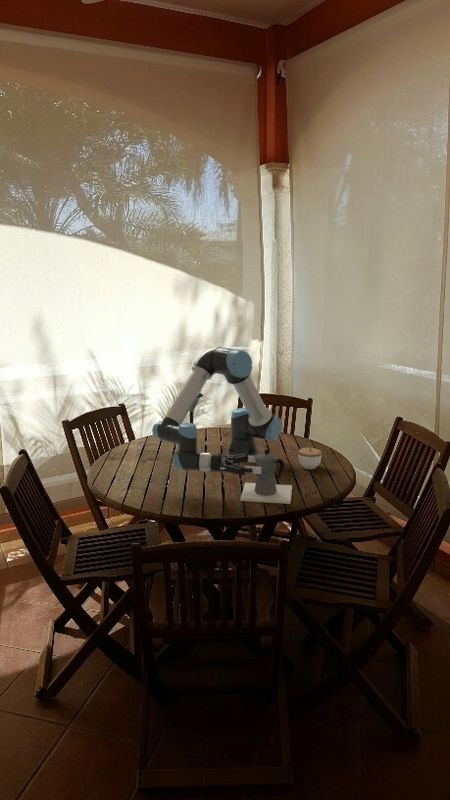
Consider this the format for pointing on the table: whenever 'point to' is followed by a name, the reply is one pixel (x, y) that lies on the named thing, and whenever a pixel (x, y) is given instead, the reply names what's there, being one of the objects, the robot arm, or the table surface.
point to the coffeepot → (267, 473)
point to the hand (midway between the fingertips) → (262, 464)
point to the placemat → (279, 497)
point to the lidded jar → (309, 457)
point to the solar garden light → (194, 407)
